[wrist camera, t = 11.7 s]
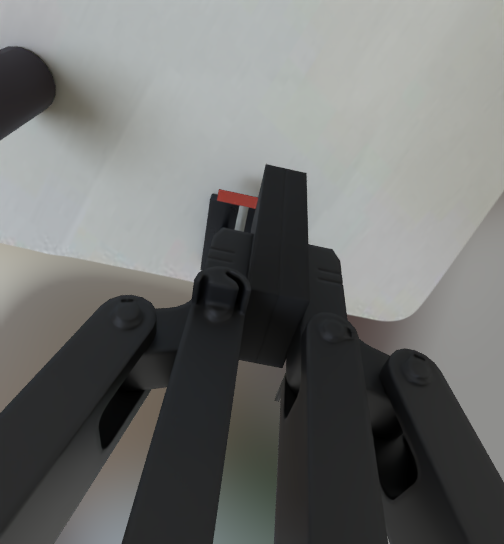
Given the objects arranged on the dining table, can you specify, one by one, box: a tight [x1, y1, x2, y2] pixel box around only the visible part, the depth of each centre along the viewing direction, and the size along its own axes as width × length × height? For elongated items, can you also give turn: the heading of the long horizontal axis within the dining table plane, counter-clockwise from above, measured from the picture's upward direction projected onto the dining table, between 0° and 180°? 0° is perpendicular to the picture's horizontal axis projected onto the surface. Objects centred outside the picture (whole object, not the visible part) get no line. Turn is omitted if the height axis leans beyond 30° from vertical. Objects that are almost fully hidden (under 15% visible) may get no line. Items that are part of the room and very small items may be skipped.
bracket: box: [201, 194, 256, 270], centre depth 51 cm, size 12×9×13 cm
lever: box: [217, 189, 258, 232], centre depth 47 cm, size 13×6×2 cm
